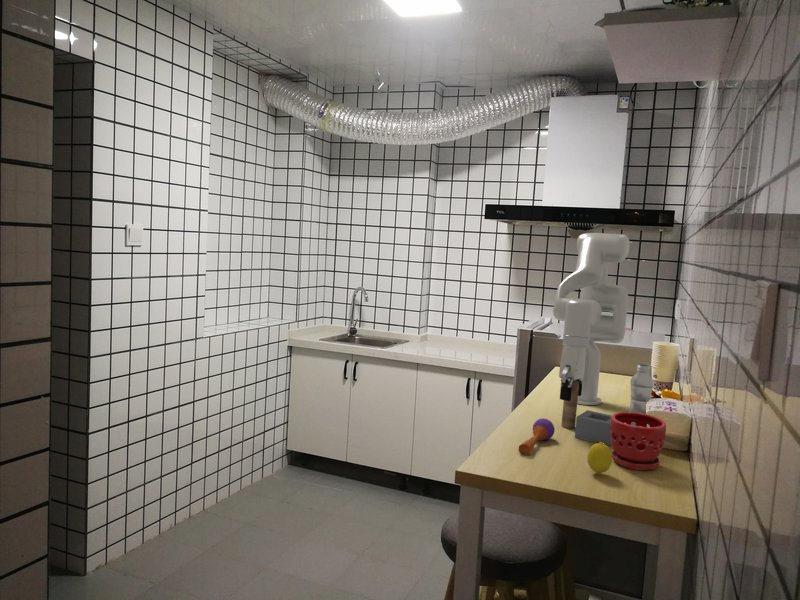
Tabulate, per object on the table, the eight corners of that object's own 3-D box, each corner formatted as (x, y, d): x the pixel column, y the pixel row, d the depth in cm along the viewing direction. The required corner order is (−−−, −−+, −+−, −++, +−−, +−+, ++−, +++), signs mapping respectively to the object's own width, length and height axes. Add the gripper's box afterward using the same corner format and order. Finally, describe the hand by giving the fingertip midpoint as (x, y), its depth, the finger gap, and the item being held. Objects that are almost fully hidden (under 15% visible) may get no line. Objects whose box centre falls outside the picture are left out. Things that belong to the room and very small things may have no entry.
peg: (564, 423, 188) (568, 379, 186) (576, 426, 185) (580, 381, 184) (559, 426, 184) (563, 381, 183) (572, 429, 182) (576, 383, 181)
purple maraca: (512, 438, 158) (535, 415, 175) (515, 460, 158) (537, 435, 176) (534, 439, 155) (555, 415, 172) (537, 461, 155) (558, 436, 173)
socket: (585, 429, 183) (587, 410, 182) (619, 437, 177) (621, 417, 177) (574, 437, 175) (576, 416, 174) (610, 445, 169) (612, 424, 169)
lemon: (613, 475, 146) (617, 442, 146) (604, 480, 142) (607, 447, 142) (592, 468, 150) (595, 436, 149) (582, 473, 146) (585, 441, 145)
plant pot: (603, 452, 163) (607, 409, 161) (654, 458, 160) (659, 414, 159) (611, 470, 150) (616, 422, 149) (667, 477, 148) (672, 428, 146)
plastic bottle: (651, 433, 183) (658, 368, 181) (627, 430, 184) (634, 366, 183) (647, 427, 189) (653, 364, 188) (624, 424, 191) (630, 362, 189)
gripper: (573, 337, 192) (568, 391, 193) (553, 342, 177) (548, 399, 178) (596, 341, 187) (591, 395, 189) (579, 345, 173) (573, 404, 174)
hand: (570, 397), depth 184 cm, fingers open, 9 cm apart
